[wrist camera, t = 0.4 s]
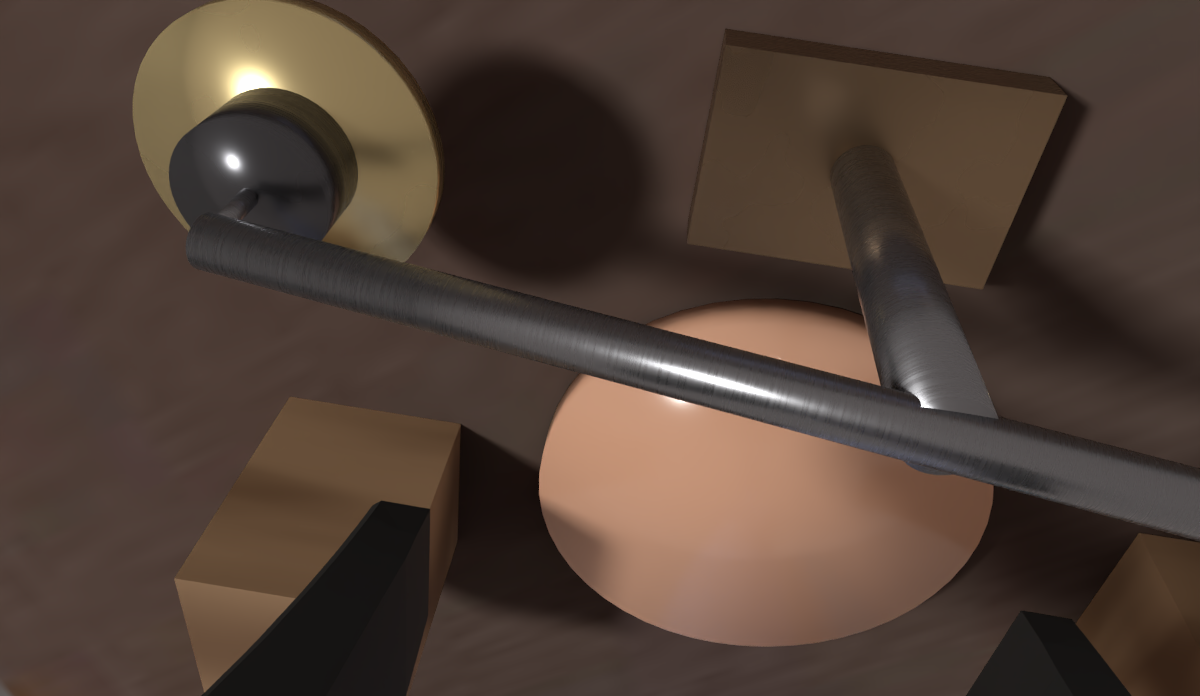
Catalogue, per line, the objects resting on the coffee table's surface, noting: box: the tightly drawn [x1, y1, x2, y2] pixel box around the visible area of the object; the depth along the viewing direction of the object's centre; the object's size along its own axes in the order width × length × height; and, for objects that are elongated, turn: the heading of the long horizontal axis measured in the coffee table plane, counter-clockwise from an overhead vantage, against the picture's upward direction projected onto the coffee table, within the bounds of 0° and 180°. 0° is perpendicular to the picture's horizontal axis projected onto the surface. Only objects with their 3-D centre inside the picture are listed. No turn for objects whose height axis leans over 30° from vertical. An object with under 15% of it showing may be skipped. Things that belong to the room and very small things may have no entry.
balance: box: [133, 0, 1200, 541], centre depth 13 cm, size 25×5×11 cm, turn 83°
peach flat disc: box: [539, 299, 994, 647], centre depth 22 cm, size 11×11×1 cm
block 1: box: [174, 397, 461, 696], centre depth 22 cm, size 4×4×6 cm
